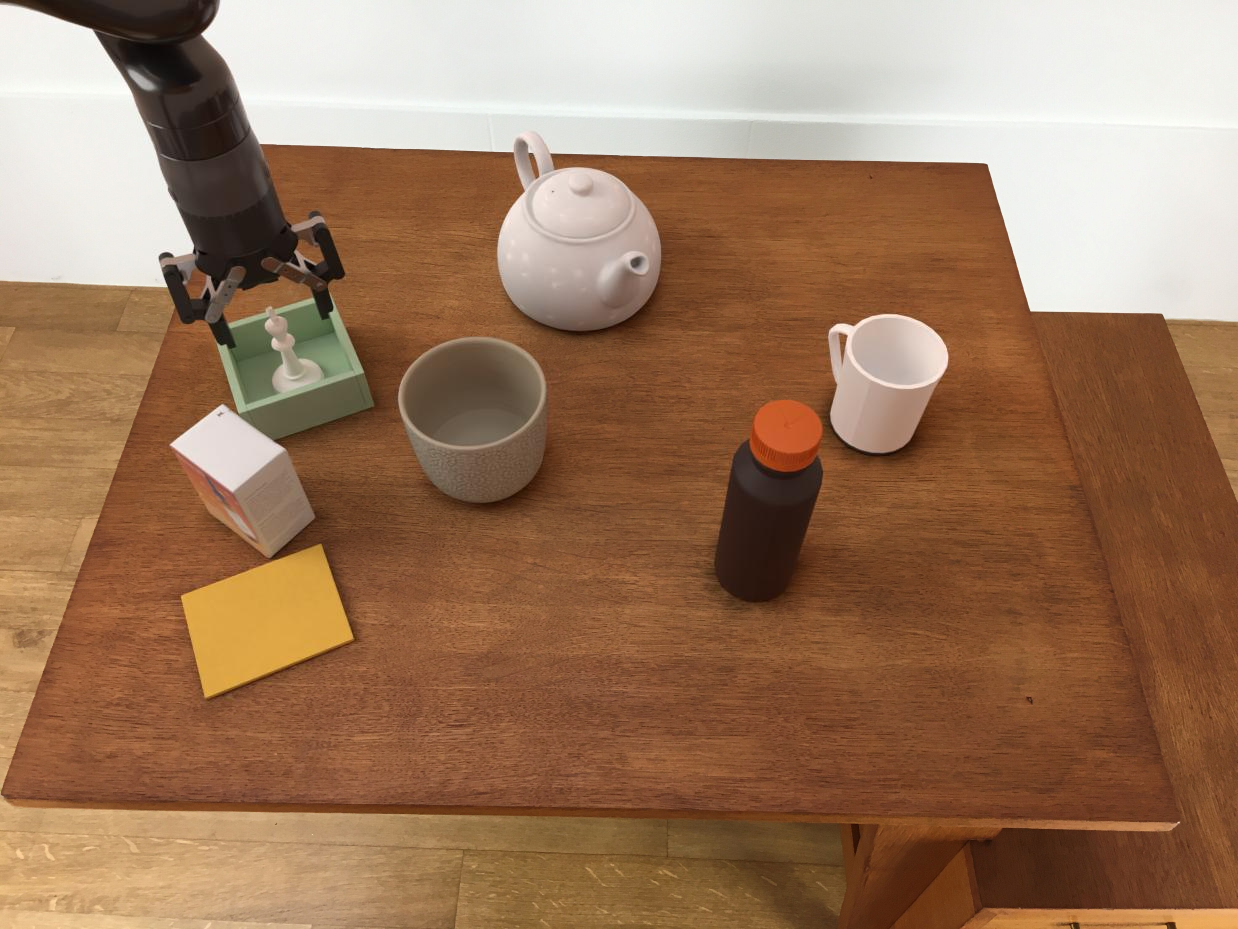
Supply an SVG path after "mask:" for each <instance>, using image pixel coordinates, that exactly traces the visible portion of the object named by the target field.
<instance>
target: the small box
mask: <svg viewBox="0 0 1238 929" xmlns="http://www.w3.org/2000/svg"><path fill="white" fill-rule="evenodd" d="M169 447H170V449H171V451H172V453H173V454H174V455H175V457H176V459H177V460H178V462H179V464H180V465H181V467H182V469H183V471H184V472H185V474H186V476H187V478H188V479H189V481H190V483H191V484H192V486H193V487H194V489H195V491H196V493H197V495H198V496H199V498H200V499H201V501H202V503H203V504H204V506H205V508H206V510H207V511H208V513H209V514H210V515H211V516H212V517H214V518H215V519H216V520H218V521H219V522H221V523H223V524H224V526H226V527H228V528H229V529H230V530H232V531H233V533H235V534H237V535H238V536H239V537H240V538H242V539H243V540H244V541H245V542H247V543H248V544H249V545H250V546H251V547H253V548H254V549H256V550H257V551H258V552H259V553H260V554H261V555H263V556H264V557H265V558H267V559H272V557H273V556H274V555H275V554H277V553H278V552H279V551H280V550H281V549H282V548H283V547H285V546H286V545H287V544H288V543H289V542H290V541H291V540H292V539H294V538H295V537H296V536H297V535H298V534H299V533H301V532H302V531H303V529H305V528H306V527H307V526H309V525H310V523H311V522H313V521H314V520H315V519H316V515H315V513H314V510H313V508H312V505H311V504H310V501H309V499H308V497H307V494H306V492H305V490H304V488H303V485H302V483H301V480H300V478H299V476H298V474H297V471H296V469H295V467H294V464H293V462H292V460H291V457H290V455H289V453H288V450H287V449H286V448H285V447H283V446H282V445H281V444H279V443H277V442H276V441H275V440H271V439H270V438H268V437H267V436H265V435H264V434H263V433H261V432H260V431H258V430H257V429H256V428H254V427H253V426H251V425H250V424H249V423H247V422H246V421H245V420H243V419H242V418H241V417H240V415H239V414H237V413H236V412H234V411H232V410H231V408H229V407H228V406H227V405H225V403H222V404H221V405H219V406H217V407H216V408H215V409H214V410H212V411H211V412H210V413H209V414H207V415H205V417H203V418H202V419H200V420H199V421H198V422H197V423H195V424H194V425H193V426H191V427H190V428H189V429H188V430H186V431H185V432H184V433H183V434H181V435H180V436H179V437H177V438H176V439H175V440H174V441H172V442H171V443H170V444H169Z"/></svg>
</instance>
